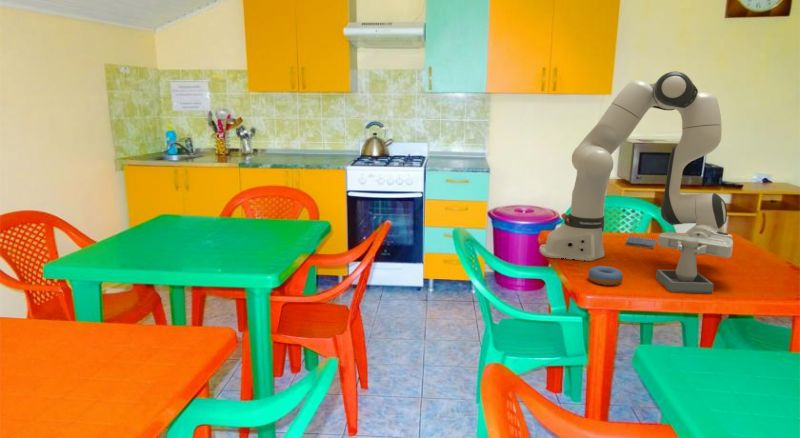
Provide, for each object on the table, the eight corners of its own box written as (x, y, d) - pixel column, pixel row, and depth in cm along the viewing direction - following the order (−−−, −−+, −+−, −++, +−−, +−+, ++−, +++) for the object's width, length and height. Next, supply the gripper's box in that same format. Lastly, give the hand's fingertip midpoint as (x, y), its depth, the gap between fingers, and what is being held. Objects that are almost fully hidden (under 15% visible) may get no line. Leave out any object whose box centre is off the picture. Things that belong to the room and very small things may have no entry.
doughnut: (603, 272, 173) (604, 259, 172) (629, 284, 165) (630, 270, 163) (580, 280, 169) (581, 267, 168) (605, 292, 161) (606, 278, 159)
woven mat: (656, 243, 209) (657, 238, 208) (653, 250, 200) (654, 245, 199) (628, 240, 214) (628, 235, 213) (623, 246, 205) (624, 241, 205)
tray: (670, 292, 157) (671, 282, 157) (655, 278, 169) (656, 269, 168) (712, 293, 156) (713, 283, 156) (694, 279, 168) (695, 270, 167)
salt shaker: (699, 283, 159) (705, 241, 156) (680, 283, 159) (685, 241, 156) (690, 277, 165) (695, 236, 162) (671, 277, 165) (675, 236, 162)
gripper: (665, 225, 175) (652, 233, 165) (738, 235, 162) (728, 245, 152) (663, 243, 177) (650, 253, 167) (735, 255, 164) (725, 267, 153)
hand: (688, 250), depth 159 cm, fingers closed on salt shaker, 3 cm apart
